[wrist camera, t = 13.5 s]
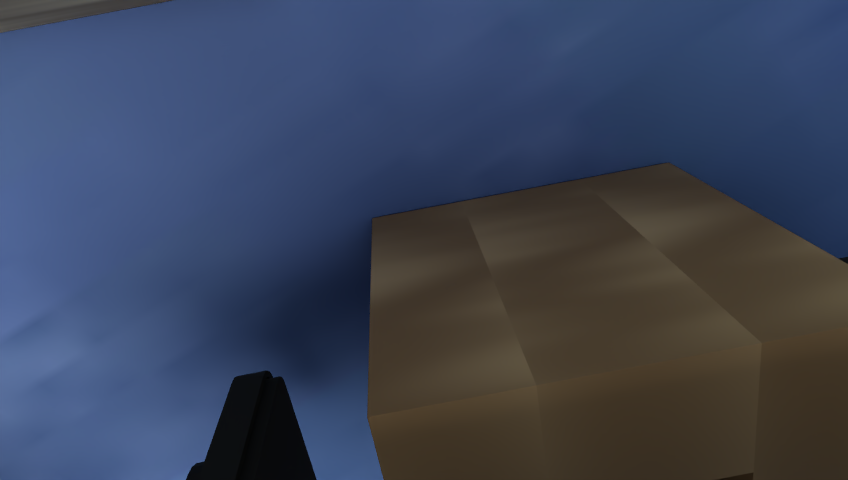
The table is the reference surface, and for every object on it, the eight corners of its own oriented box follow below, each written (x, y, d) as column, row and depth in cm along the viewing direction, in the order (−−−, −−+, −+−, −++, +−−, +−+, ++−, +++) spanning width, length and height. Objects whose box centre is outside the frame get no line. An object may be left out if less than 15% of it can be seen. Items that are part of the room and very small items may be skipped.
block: (668, 162, 12) (931, 310, 6) (671, 403, 14) (862, 668, 8) (372, 218, 12) (367, 416, 6) (423, 450, 14) (453, 746, 8)
